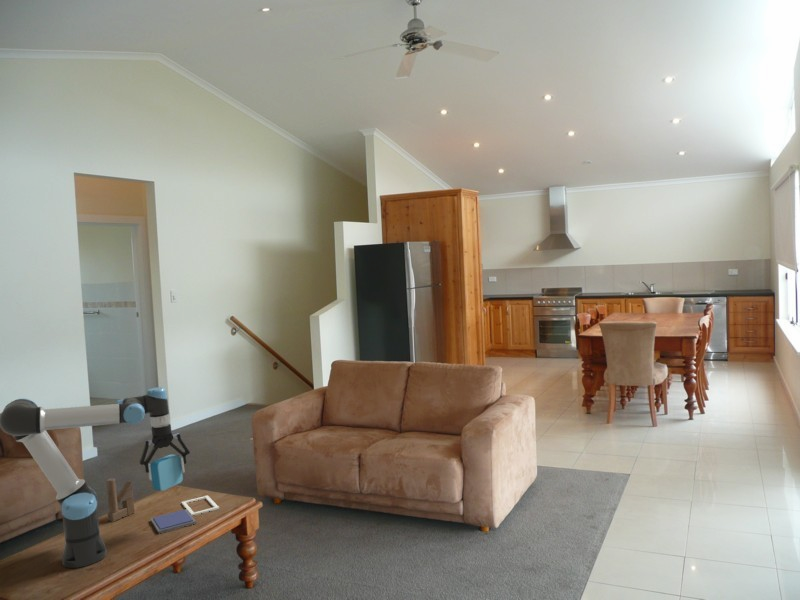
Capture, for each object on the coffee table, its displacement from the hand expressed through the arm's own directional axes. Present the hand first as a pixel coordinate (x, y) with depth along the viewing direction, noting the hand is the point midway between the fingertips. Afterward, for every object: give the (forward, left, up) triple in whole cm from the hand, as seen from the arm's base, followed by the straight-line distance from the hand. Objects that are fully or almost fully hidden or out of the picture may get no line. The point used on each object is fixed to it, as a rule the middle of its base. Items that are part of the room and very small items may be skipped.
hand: (167, 475), depth 267 cm
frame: (+15, +14, -21) cm, 30 cm away
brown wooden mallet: (-16, +26, -21) cm, 37 cm away
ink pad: (+1, +3, -21) cm, 21 cm away
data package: (0, 0, -5) cm, 5 cm away
